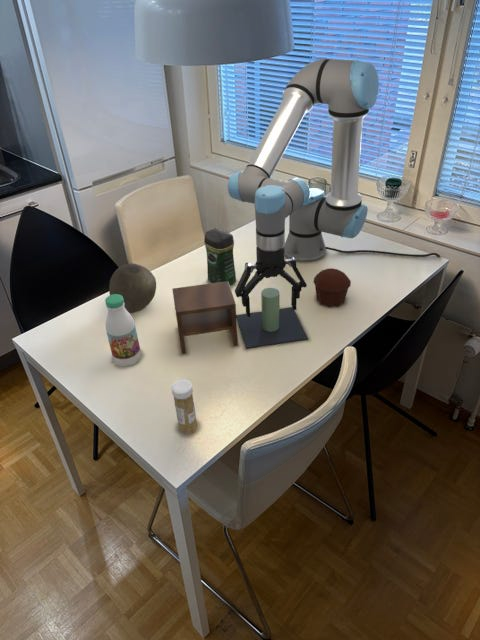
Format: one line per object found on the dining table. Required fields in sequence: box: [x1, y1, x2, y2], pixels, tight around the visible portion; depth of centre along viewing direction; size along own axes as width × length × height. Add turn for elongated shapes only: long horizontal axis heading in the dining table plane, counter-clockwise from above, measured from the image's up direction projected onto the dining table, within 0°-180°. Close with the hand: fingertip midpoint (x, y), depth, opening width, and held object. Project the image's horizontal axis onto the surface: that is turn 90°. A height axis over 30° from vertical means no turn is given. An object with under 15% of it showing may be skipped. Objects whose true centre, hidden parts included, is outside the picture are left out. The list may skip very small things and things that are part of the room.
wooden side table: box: [171, 281, 239, 355], centre depth 139 cm, size 16×12×14 cm
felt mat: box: [236, 306, 309, 350], centre depth 146 cm, size 18×16×1 cm
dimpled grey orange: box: [108, 263, 157, 314], centre depth 152 cm, size 14×14×15 cm
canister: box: [260, 287, 281, 332], centre depth 142 cm, size 5×5×12 cm
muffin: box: [312, 267, 352, 308], centre depth 154 cm, size 12×11×10 cm
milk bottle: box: [104, 294, 142, 367], centre depth 131 cm, size 8×8×20 cm
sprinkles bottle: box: [171, 379, 199, 435], centre depth 112 cm, size 5×5×14 cm
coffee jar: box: [203, 227, 237, 287], centre depth 162 cm, size 10×8×19 cm
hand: (271, 310), depth 143 cm, fingers open, 13 cm apart
